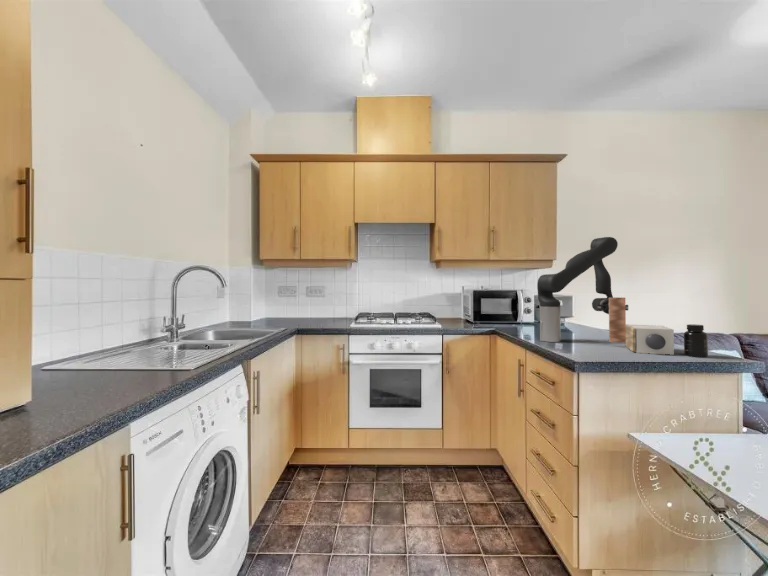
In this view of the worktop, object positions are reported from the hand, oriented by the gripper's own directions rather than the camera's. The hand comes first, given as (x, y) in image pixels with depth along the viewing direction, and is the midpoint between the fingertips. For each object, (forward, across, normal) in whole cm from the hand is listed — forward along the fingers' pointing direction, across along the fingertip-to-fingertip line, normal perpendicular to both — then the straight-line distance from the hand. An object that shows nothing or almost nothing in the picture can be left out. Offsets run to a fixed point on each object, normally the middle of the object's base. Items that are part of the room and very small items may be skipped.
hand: (616, 308), depth 154 cm
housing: (+8, +10, +17) cm, 21 cm away
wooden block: (+7, 0, +17) cm, 18 cm away
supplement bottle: (+14, +23, +17) cm, 32 cm away
